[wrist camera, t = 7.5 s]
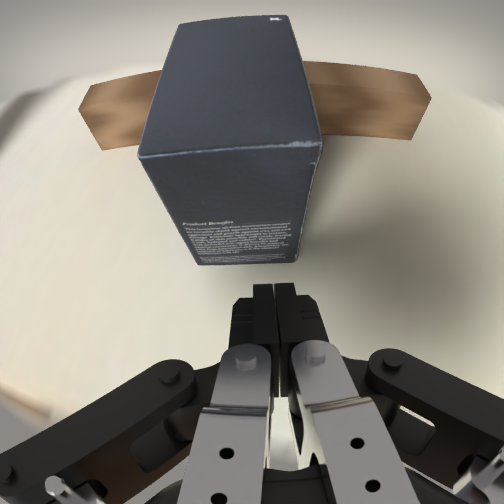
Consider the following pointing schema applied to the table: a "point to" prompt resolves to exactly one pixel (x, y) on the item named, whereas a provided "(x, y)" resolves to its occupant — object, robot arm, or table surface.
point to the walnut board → (322, 89)
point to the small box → (234, 139)
